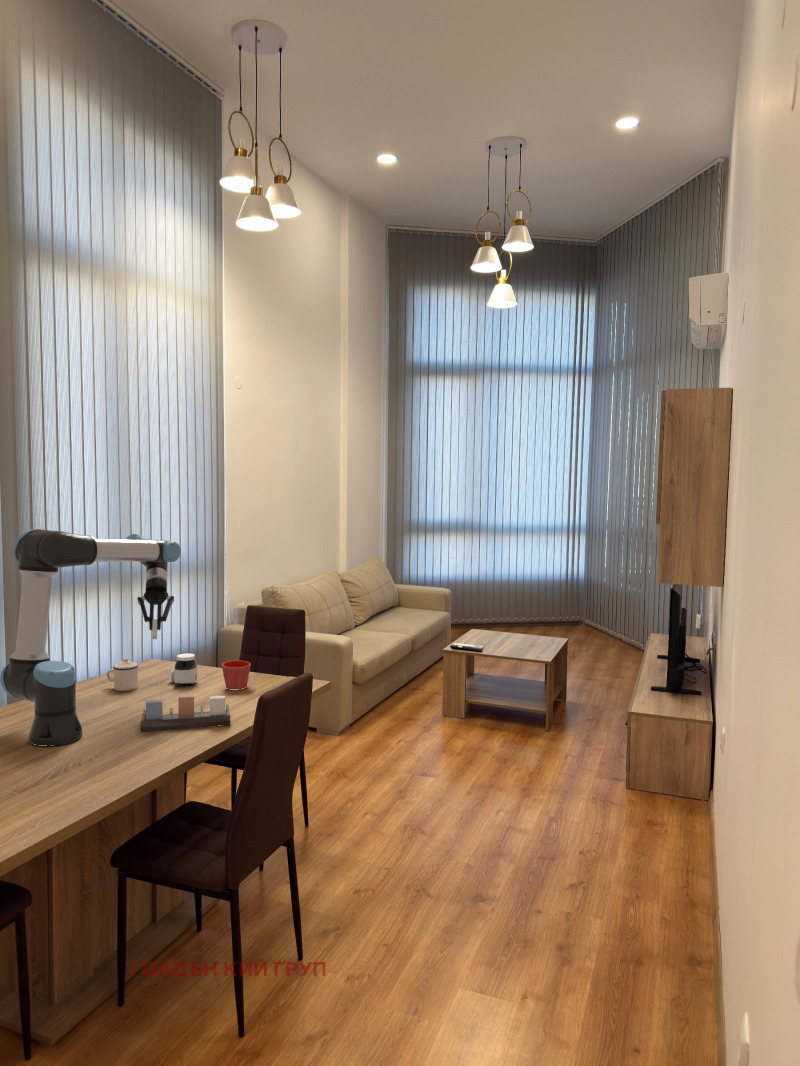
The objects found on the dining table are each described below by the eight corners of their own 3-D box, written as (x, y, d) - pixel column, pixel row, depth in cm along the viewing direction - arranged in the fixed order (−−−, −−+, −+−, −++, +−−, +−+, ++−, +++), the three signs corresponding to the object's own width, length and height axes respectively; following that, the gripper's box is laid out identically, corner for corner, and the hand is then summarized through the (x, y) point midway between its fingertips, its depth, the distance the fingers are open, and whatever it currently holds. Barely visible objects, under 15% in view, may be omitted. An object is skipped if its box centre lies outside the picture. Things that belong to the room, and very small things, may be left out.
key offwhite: (209, 717, 250) (209, 696, 249) (225, 716, 251) (225, 695, 251) (209, 720, 248) (209, 698, 247) (225, 719, 249) (225, 697, 248)
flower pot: (245, 692, 286) (244, 667, 285) (217, 691, 287) (217, 666, 287) (254, 685, 296) (254, 661, 295) (228, 683, 298) (228, 659, 297)
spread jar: (191, 688, 291) (190, 658, 290) (162, 687, 292) (162, 658, 291) (201, 680, 303) (201, 651, 302) (173, 679, 304) (173, 650, 303)
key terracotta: (178, 716, 251) (178, 695, 250) (194, 715, 252) (194, 694, 252) (178, 719, 248) (178, 697, 248) (194, 717, 250) (194, 696, 249)
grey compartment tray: (143, 720, 252) (143, 710, 252) (228, 714, 260) (228, 704, 259) (140, 731, 241) (140, 721, 240) (230, 725, 248) (230, 715, 248)
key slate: (146, 722, 245) (146, 700, 244) (162, 721, 246) (162, 699, 245) (146, 724, 242) (145, 702, 242) (162, 723, 244) (162, 701, 243)
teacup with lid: (142, 685, 294) (141, 655, 294) (133, 691, 285) (132, 661, 284) (111, 684, 295) (111, 655, 294) (102, 691, 286) (101, 660, 285)
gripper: (175, 588, 280) (174, 642, 266) (138, 589, 277) (135, 643, 262) (174, 576, 275) (173, 630, 260) (137, 577, 272) (134, 631, 257)
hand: (154, 636), depth 261 cm, fingers closed
